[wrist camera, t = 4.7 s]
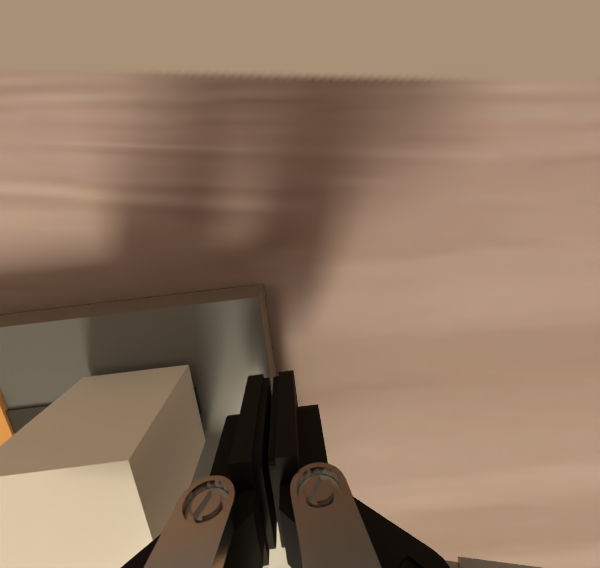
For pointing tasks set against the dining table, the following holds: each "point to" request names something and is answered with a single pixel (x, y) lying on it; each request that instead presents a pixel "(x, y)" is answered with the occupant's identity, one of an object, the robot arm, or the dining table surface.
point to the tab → (99, 470)
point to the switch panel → (141, 355)
